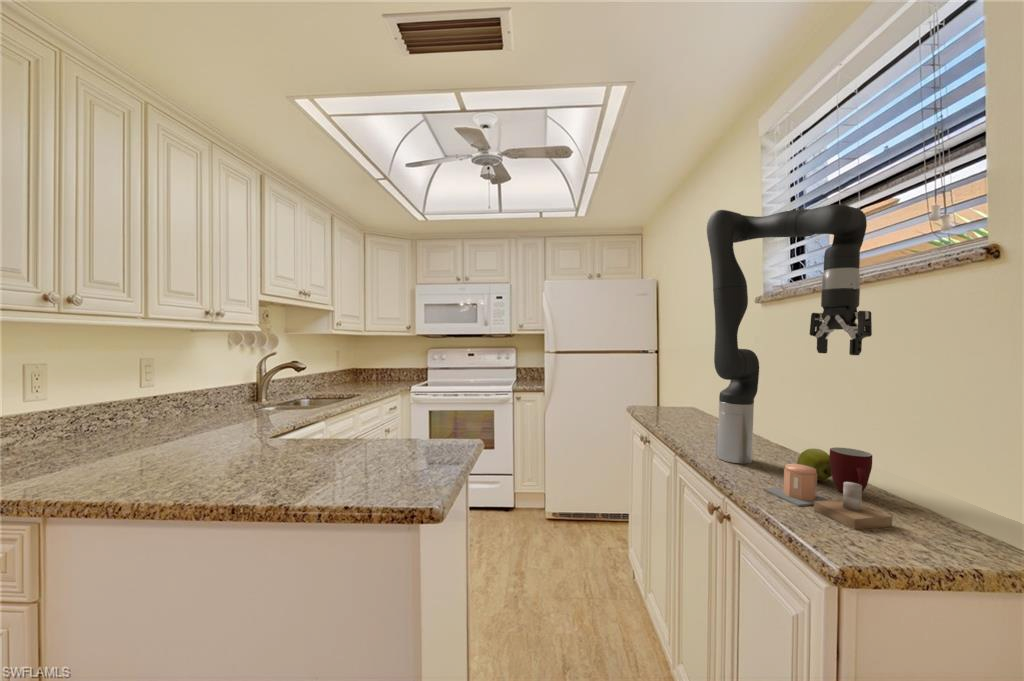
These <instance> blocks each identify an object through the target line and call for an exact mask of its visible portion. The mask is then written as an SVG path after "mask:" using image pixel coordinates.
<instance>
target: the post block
mask: <svg viewBox="0 0 1024 681" xmlns="http://www.w3.org/2000/svg"><path fill="white" fill-rule="evenodd" d="M862 496H863V492H862V485H860V484H857V483H853V482H844V485H843V494H842V499H830V500H827V501H814V505H813V512H816V513H818V514H820V515H822V516H825V517H827V518H829V519H831V520H834V521H835V522H837V523H840V524H842V525H844V526H846V527H849V528H850V529H853V530H862V529H865V530H866V529H876V528H889V527H893V516H892V515H889V514H888V513H885V512H883V511H881V510H877V509H875V508H872V507H870V506H867V505H865V504H863V503H862Z"/></svg>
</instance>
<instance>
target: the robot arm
mask: <svg viewBox="0 0 1024 681" xmlns="http://www.w3.org/2000/svg"><path fill="white" fill-rule="evenodd" d="M706 224H707V225H706V237H707V243H708V247H709V248H708V249H709V253H710V254H709V256H710V261H711V263H710V264H711V273H712V275H711V276H712V289H713V290H712V293H713V306H714V325H715V326H714V328H715V336H714V354H713V355H714V357H713V360H714V361H713V362H714V369H715V371H716V373H717V375H718V377H719V378H721V379H723V380H728V381H730V382H729V384H728V386H727V387H726V388H723V390H721V391H720V392H719V396H718V397H719V398H718V399H719V401H718V403H719V404H718V424H716V427H715V428H716V430H715V433H716V434H715V456H716V457H717V458H718V459H719V460H721V461H725V462H727V463H728V462H729V463H733V464H741V465H742V464H743V465H744V464H751V463H752V462H753V440H754V439H753V438H754V437H753V436H754V407H755V406H754V405H755V404H754V403H755V397H756V395H757V393H758V389H759V378H760V361H759V358H758V356H757V354H756V353H755V352H754V351H753V350H751V349H747V348H739V345H738V344H739V343H738V342H739V341H738V332H739V328H740V326H741V325H740V324H741V322H742V320H743V318H744V316H745V314H746V312H747V308H748V303H749V299H748V298H749V295H748V284H747V280H746V276H745V274H744V272H743V270H742V268H741V266H740V264H739V262H738V260H737V258H736V255H735V250H734V244H735V243H740V242H744V241H749V240H750V241H751V240H756V239H764V238H806V237H807V238H808V237H813V236H814V235H832V236H833V240H832V244H831V246H829V247H827V248H826V249H825V251H824V254H823V255H824V256H823V272H822V273H823V274H822V278H821V298H820V299H821V301H820V307H822V309H823V311H822V312H812V313H811V315H810V322H809V324H810V325H809V335H810V337H811V336H812V337H815V338H816V352H817V353H818V354H827V353H828V346H829V345H828V343H829V342H828V341H829V340H828V337H829V336H830V335H831V333H833V332H834V331H835V330H836V331H837V330H843V331H844V332H846V333H847V334H848V336H849V337H850V338H851V339H849V356H860V355H861V352H862V350H863V349H862V346H863V339H865V338H868V337H871V336H872V334H873V330H872V329H873V328H872V311H871V310H870V311H869V310H858V309H857V308H858V307H860V296H861V295H860V294H861V292H860V291H861V272H860V260H861V257H860V256H861V255H860V252H861V247H862V246H863V243H864V239H865V235H866V231H867V226H868V225H867V224H868V223H867V216H866V214H865V212H864V211H863V210H861V209H859V208H857V207H853V206H850V205H846V204H829V205H825V206H824V205H822V206H818V207H815V208H812V209H811V208H807V209H804V208H803V209H794V210H793V209H792V210H784V211H780V212H779V211H778V212H776V213H773V214H770V215H764V216H754V215H753V216H752V215H744V214H741V213H739V212H735V211H731V210H727V209H719V210H715V211H714V212H713V213H712V214H711V215H710V216H709V219H708V220H707V223H706Z"/></svg>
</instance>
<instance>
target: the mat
mask: <svg viewBox="0 0 1024 681" xmlns="http://www.w3.org/2000/svg"><path fill="white" fill-rule="evenodd" d="M783 490H784V486H783V487H764V488H763V491H765V492H766V493H769V494H771V495H773V496H775V497H777V498H779V497H780V498H779V499H781V498H782V500H784V501H786V502H788V503H790V504H792V503H793V504H792V505H794V504H795V505H794V506H796V507H807V506H811V507H812V506H814V501H827V500H831V498H829V497H825V496H823V495H820V494H818V493H817V497H816V498H815V499H814V500H802V499H798V498H794V497H790V496H788V495H787V494H785V493H783Z"/></svg>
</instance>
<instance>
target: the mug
mask: <svg viewBox="0 0 1024 681" xmlns="http://www.w3.org/2000/svg"><path fill="white" fill-rule="evenodd" d="M829 458H830V466H831V472H832V476H831V477H832V478H831V479H832V481H833V483H834V485H835V488H836V489H837V492H838V493H841V494H842V495H843V485H844V482H853V483H857V484H860V485H862V493H863V492H864V491H865V490H866V489H867V486H868V482H869V479H870V476H871V472H872V469H873V454H872V453H871V452H867V451H864V450H860V449H856V448H850V447H849V448H848V447H831V448H829Z"/></svg>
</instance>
